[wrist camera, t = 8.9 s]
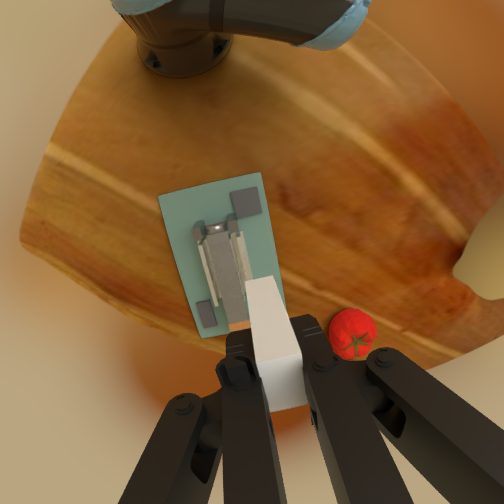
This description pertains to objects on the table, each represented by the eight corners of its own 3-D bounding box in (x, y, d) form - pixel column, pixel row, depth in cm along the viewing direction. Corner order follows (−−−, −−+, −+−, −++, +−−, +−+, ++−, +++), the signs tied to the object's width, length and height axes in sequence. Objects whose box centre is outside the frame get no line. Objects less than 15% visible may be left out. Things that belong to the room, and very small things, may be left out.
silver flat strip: (203, 225, 39) (202, 227, 38) (225, 220, 39) (225, 221, 38) (232, 337, 44) (232, 341, 43) (252, 333, 44) (253, 337, 43)
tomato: (343, 295, 50) (359, 316, 43) (373, 314, 52) (390, 334, 45) (313, 333, 52) (324, 357, 45) (344, 348, 55) (357, 371, 47)
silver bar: (193, 221, 43) (187, 231, 37) (241, 210, 43) (243, 219, 37) (220, 318, 48) (219, 339, 42) (262, 309, 48) (267, 330, 42)
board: (159, 195, 42) (156, 196, 40) (259, 171, 42) (261, 172, 41) (201, 334, 51) (200, 340, 49) (287, 317, 51) (289, 323, 49)
